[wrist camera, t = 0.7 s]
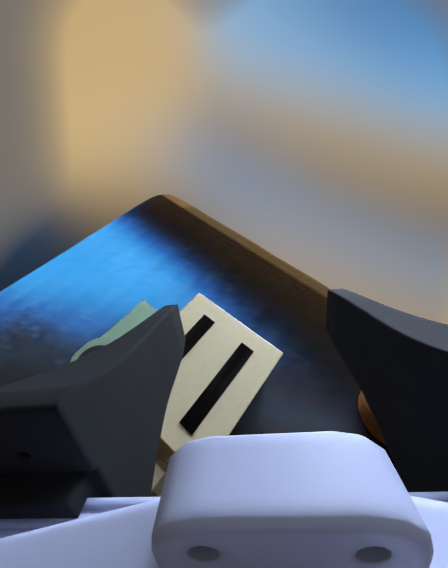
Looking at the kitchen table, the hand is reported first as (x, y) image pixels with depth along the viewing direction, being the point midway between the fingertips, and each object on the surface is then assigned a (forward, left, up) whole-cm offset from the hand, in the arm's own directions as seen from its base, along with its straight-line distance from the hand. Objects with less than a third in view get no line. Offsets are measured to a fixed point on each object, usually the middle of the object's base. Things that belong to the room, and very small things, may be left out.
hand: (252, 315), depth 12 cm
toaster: (-2, +3, -18) cm, 19 cm away
